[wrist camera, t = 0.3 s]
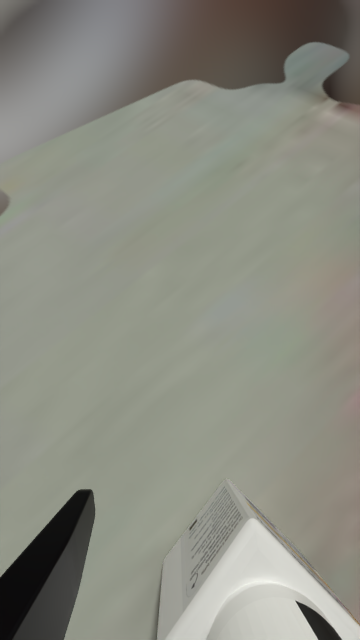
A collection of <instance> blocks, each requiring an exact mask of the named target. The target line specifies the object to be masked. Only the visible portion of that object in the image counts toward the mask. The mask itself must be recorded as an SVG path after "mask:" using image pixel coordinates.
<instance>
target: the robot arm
mask: <svg viewBox="0 0 360 640" xmlns="http://www.w3.org/2000/svg"><path fill="white" fill-rule="evenodd" d="M94 519H95V504H94V495H93V491H92V490H91V489H81V490H78V491H77V492H76V493H75V494H74V495H73V496H72V497H71V498H70V499H69V500H68V502H67V503H66V504H65V505H64V506H63V507H62V508H61V509H60V511H59V512H58V513H57V514H56V515H55V516H54V517H53V518H52V520H51V521H50V522H49V523H48V524H47V525H46V526H45V527H44V529H43V530H42V531H41V532H40V533H39V534H38V535H37V536H36V538H35V539H34V540H33V541H32V542H31V543H30V544H29V546H28V547H27V548H26V549H25V550H24V551H23V552H22V553H21V555H20V556H19V557H18V558H17V559H16V560H15V561H14V562H13V564H12V565H11V566H10V567H9V568H8V569H7V570H6V571H5V573H4V574H3V575H2V576H1V577H0V640H64V637H65V634H66V630H67V627H68V624H69V621H70V617H71V614H72V611H73V608H74V604H75V601H76V597H77V594H78V590H79V586H80V582H81V578H82V573H83V569H84V564H85V560H86V555H87V551H88V546H89V542H90V537H91V533H92V528H93V524H94Z"/></svg>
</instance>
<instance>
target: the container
mask: <svg viewBox="0 0 360 640" xmlns="http://www.w3.org/2000/svg"><path fill="white" fill-rule="evenodd" d="M157 640H360V624H359V623H358V622H357V621H356V619H355V618H354V617H353V616H352V614H351V613H350V612H349V611H348V610H347V608H346V607H345V606H344V605H343V603H342V602H341V601H340V600H339V599H338V597H337V596H336V595H335V594H334V592H333V591H332V590H331V589H330V587H329V586H328V585H327V584H326V583H325V581H324V580H323V579H322V578H321V576H320V575H319V574H318V573H317V572H316V570H315V569H314V568H313V567H312V565H311V564H310V563H309V562H308V561H307V559H306V558H305V557H304V556H303V554H302V553H301V552H300V551H299V550H298V549H297V548H296V547H295V546H294V545H293V544H292V543H291V542H290V541H289V540H288V539H287V538H286V537H285V536H284V535H283V534H282V533H281V532H280V530H279V529H278V528H277V527H276V526H275V525H274V524H273V523H272V522H271V521H270V520H269V519H268V518H267V517H266V516H265V515H264V514H263V513H262V512H261V511H260V510H259V509H258V508H257V507H256V506H255V505H254V504H253V503H252V502H251V501H250V500H249V499H248V498H247V497H246V496H245V495H244V494H243V493H242V492H241V491H240V490H239V489H238V488H237V487H236V485H235V484H234V483H233V482H232V481H231V480H229V479H225V480H223V482H222V483H221V484H220V486H219V487H218V488H217V490H216V491H215V492H214V494H213V495H212V496H211V498H210V499H209V500H208V502H207V503H206V504H205V505H204V507H203V508H202V509H201V511H200V512H199V513H198V515H197V516H196V517H195V519H194V520H193V521H192V523H191V524H190V525H189V527H188V528H187V529H186V531H185V532H184V533H183V535H182V536H181V537H180V539H179V540H178V541H177V543H176V544H175V545H174V547H173V548H172V549H171V550H170V552H169V553H168V554H167V556H166V557H165V559H164V561H163V569H162V582H161V594H160V607H159V619H158V631H157Z"/></svg>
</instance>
